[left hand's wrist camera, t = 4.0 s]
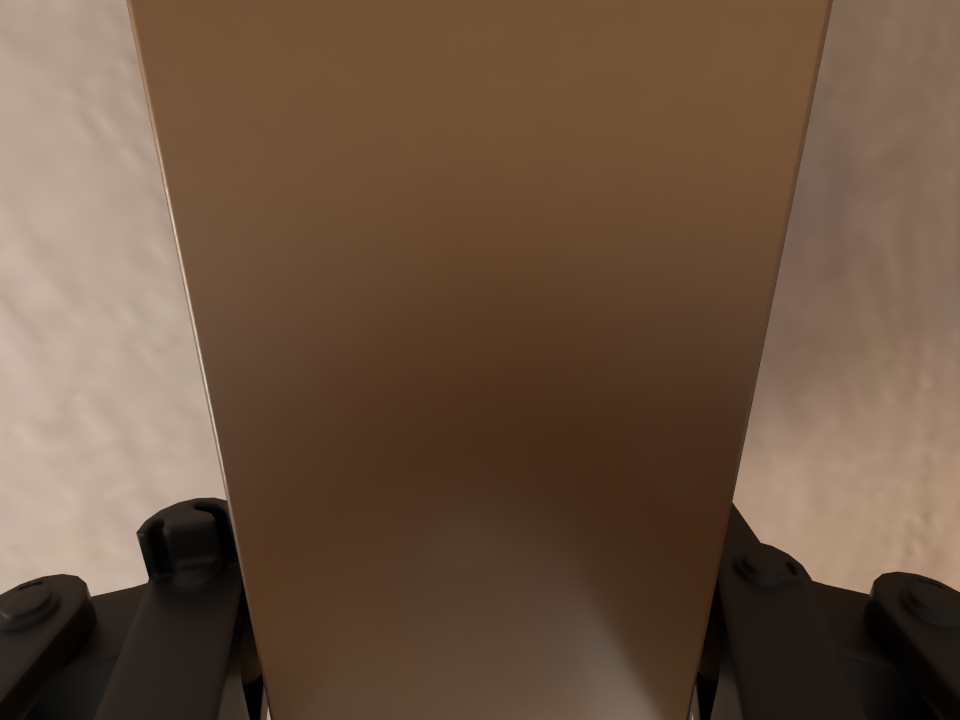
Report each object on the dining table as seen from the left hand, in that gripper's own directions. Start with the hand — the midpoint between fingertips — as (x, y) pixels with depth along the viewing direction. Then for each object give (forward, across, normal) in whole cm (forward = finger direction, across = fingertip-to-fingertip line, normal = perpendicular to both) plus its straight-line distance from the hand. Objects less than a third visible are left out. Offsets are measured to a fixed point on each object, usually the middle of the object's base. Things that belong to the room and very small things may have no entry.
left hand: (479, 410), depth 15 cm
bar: (+1, 0, -9) cm, 9 cm away
